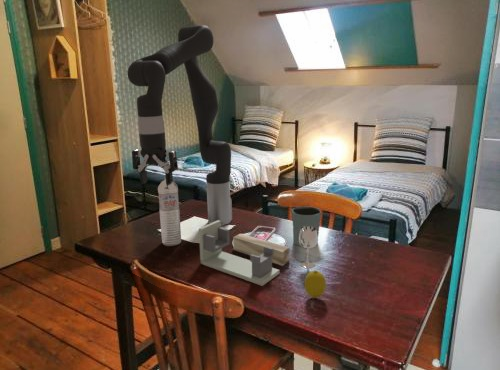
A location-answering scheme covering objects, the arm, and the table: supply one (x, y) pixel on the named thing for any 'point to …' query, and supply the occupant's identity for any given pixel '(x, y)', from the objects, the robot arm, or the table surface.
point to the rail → (260, 248)
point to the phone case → (260, 227)
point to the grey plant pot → (304, 220)
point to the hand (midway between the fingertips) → (156, 183)
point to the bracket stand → (214, 257)
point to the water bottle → (169, 213)
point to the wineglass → (308, 242)
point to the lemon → (315, 284)
